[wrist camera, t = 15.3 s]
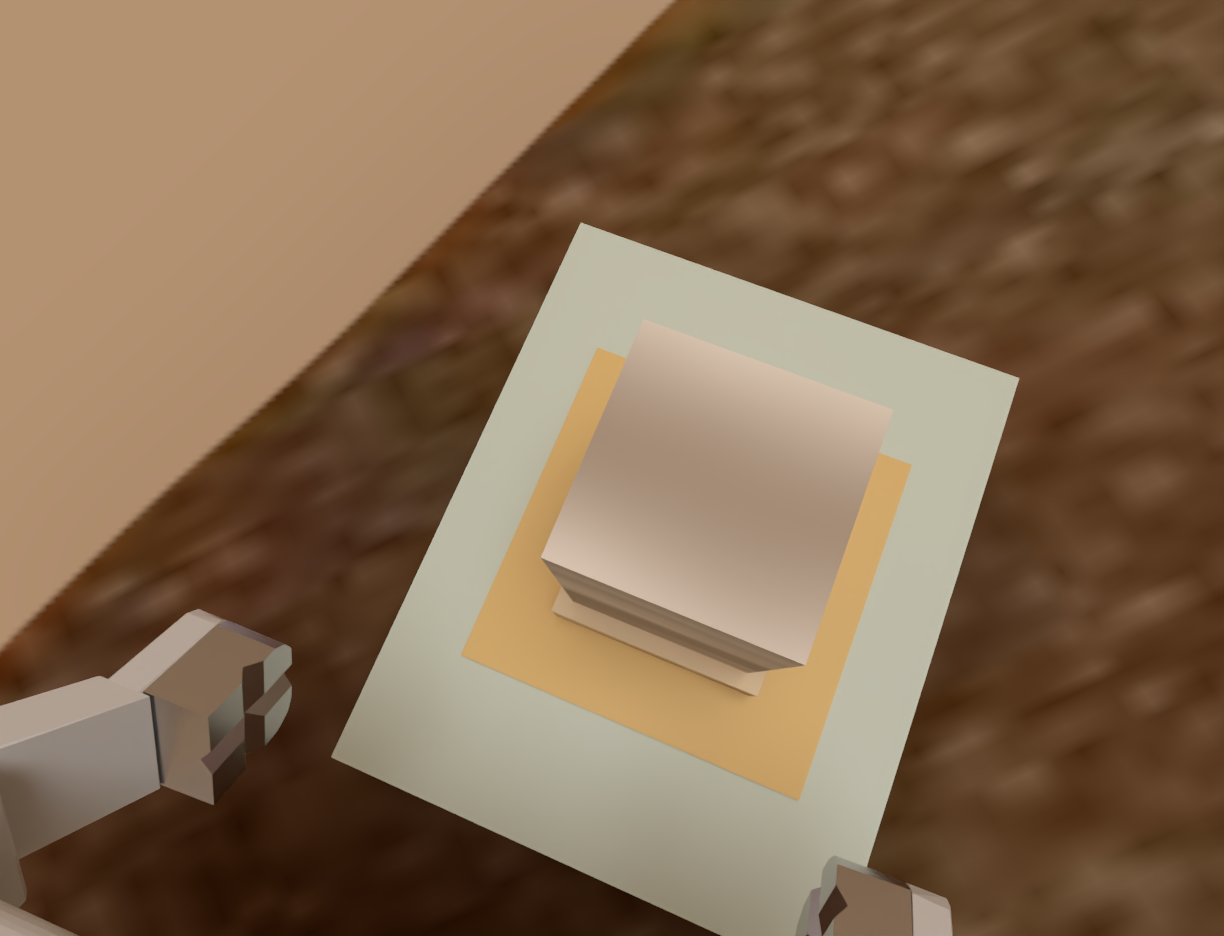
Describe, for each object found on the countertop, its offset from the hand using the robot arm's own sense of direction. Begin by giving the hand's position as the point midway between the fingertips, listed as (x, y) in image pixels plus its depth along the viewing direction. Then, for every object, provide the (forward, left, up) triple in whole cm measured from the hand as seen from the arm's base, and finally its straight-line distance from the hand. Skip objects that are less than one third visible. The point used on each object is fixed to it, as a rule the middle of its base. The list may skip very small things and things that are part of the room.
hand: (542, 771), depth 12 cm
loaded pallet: (+5, -1, -9) cm, 10 cm away
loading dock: (+5, -1, -13) cm, 14 cm away
